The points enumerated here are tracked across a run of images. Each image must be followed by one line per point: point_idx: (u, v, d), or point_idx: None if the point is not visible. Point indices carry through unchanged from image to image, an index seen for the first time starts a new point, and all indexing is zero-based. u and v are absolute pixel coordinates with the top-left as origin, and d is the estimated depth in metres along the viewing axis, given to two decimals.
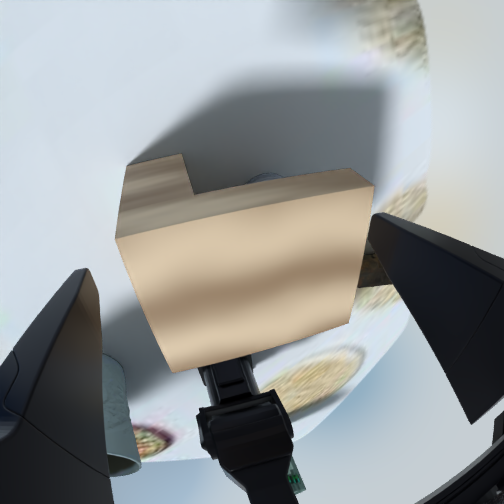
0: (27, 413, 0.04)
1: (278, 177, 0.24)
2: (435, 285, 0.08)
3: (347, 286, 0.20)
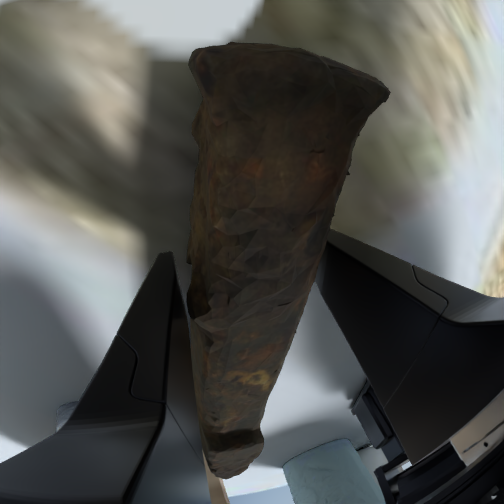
0: (166, 399, 0.04)
1: (57, 426, 0.13)
2: (365, 310, 0.07)
3: None
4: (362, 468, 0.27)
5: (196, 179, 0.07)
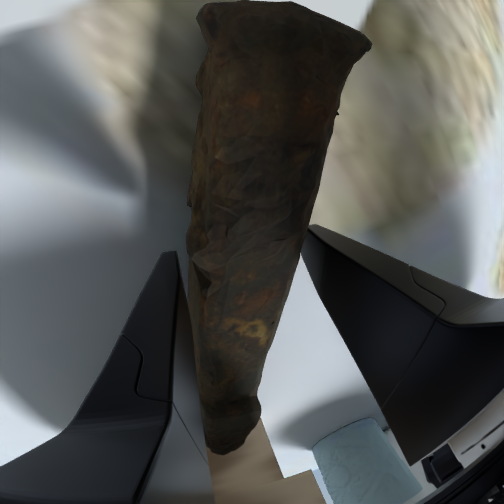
0: (172, 398, 0.04)
1: None
2: (362, 311, 0.07)
3: None
4: (389, 445, 0.28)
5: (199, 124, 0.07)
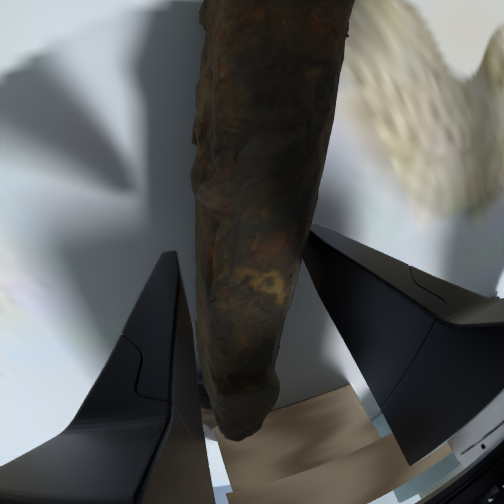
0: (172, 398, 0.04)
1: None
2: (362, 311, 0.07)
3: None
4: None
5: (203, 56, 0.06)
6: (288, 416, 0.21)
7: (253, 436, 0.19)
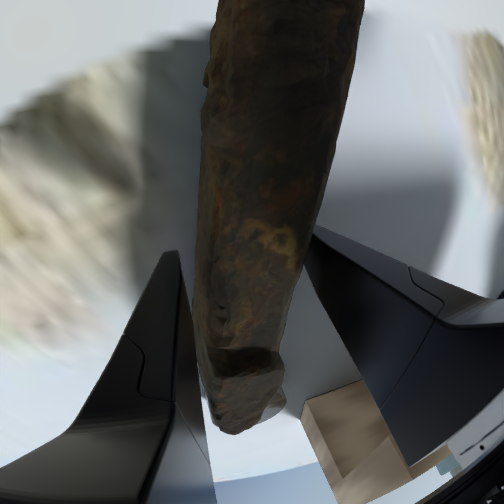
0: (175, 397, 0.04)
1: None
2: (361, 312, 0.07)
3: None
4: None
5: (220, 0, 0.05)
6: None
7: (344, 406, 0.21)
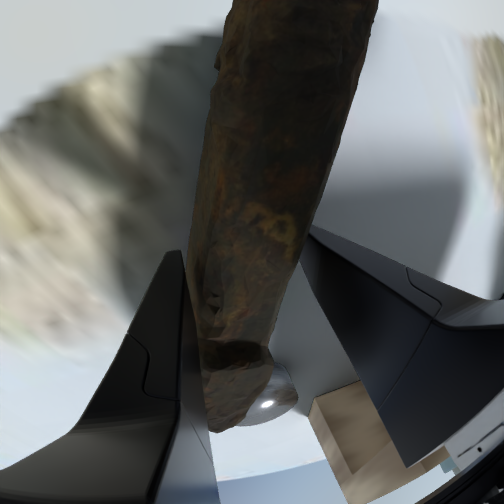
0: (180, 397, 0.04)
1: None
2: (358, 313, 0.07)
3: None
4: None
5: None
6: None
7: (352, 403, 0.21)
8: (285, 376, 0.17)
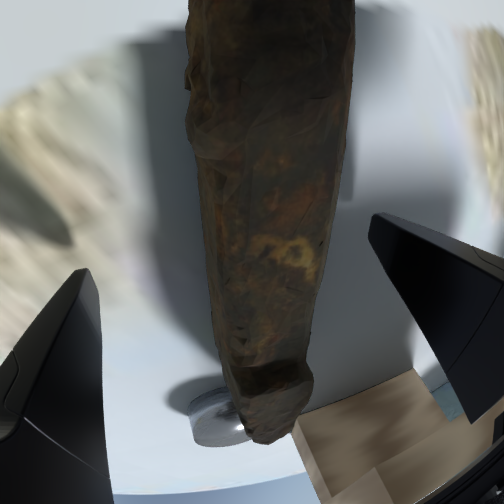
0: (27, 413, 0.04)
1: None
2: (435, 285, 0.08)
3: None
4: None
5: None
6: (364, 401, 0.21)
7: (335, 422, 0.20)
8: None
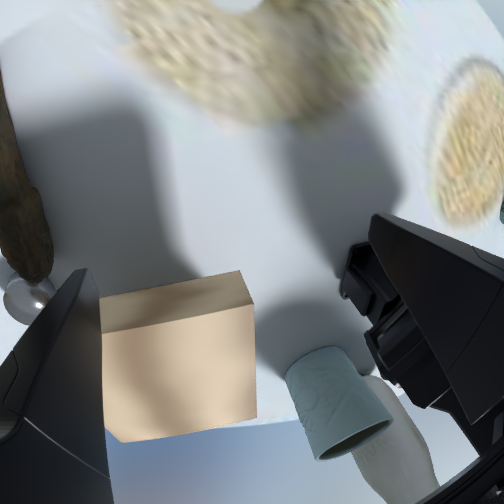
0: (27, 413, 0.04)
1: None
2: (435, 285, 0.08)
3: (169, 333, 0.14)
4: (357, 372, 0.34)
5: None
6: None
7: None
8: None
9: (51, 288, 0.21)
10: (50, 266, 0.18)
